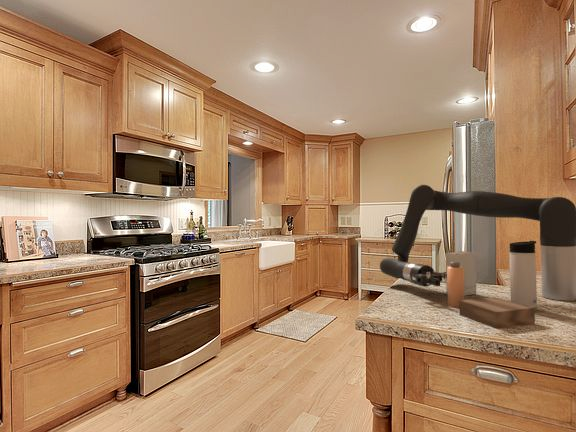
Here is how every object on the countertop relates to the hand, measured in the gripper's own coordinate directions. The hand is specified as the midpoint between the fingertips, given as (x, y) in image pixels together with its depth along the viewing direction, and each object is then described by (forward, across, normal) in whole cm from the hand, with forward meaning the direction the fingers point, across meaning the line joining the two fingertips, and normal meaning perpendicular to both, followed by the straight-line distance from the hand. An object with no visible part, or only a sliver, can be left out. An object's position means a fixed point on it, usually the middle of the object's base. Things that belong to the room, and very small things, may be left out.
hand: (450, 282), depth 102 cm
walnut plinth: (+16, 0, +7) cm, 17 cm away
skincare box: (-10, +13, +7) cm, 18 cm away
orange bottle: (+2, 0, +7) cm, 7 cm away
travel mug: (+11, +16, +7) cm, 21 cm away
